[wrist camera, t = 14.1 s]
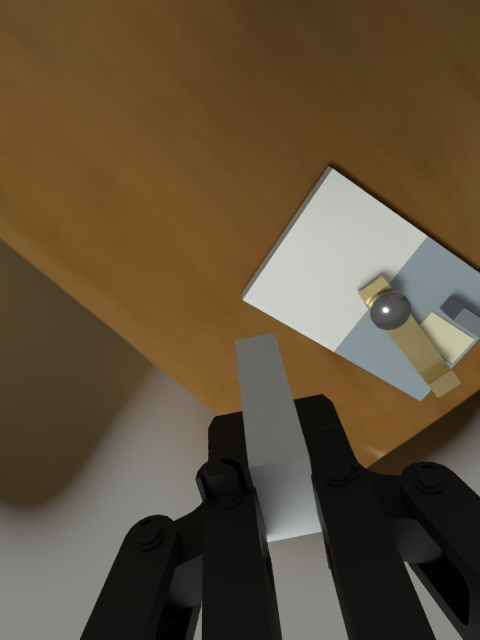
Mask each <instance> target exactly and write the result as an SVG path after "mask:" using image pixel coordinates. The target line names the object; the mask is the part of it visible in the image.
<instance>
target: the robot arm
mask: <svg viewBox="0 0 480 640" xmlns="http://www.w3.org/2000/svg"><path fill="white" fill-rule="evenodd" d="M235 346H236V355H237V365H238V374H239V383H240V392H241V401H242V410H243V411H241V412H236V413H231V414H226V415H221V416H216V417H214V419H213V421H212V422H211V424H210V426H209V428H208V441H209V443H208V451H209V452H208V461H207V462H206V463H205V464H203V465H202V467H201V468H200V469H199V470H198V472H197V476H196V482H197V486H198V489H199V492H200V495H201V498H202V501H203V502H202V503H201V505H200V506H198V507H197V508H196V509H195V510H194V511H192V512H191V513H189V514H188V515H185V516H183V517H181V518H179V519H177V520H175V521H173V520H172V519H170V518H169V517H168V516H164V515H153V516H148V517H146V518H144V519H142V520H140V521H139V522H137V523H136V524H135V525H134V526H133V527H132V528H131V529H130V530H129V532H128V533H127V535H126V536H125V538H124V541H123V543H122V545H121V547H120V550H119V552H118V554H117V556H116V559H115V561H114V563H113V565H112V568H111V570H110V572H109V575H108V577H107V579H106V581H105V584H104V586H103V588H102V590H101V593H100V595H99V597H98V599H97V602H96V604H95V607H94V609H93V611H92V613H91V616H90V617H89V620H88V622H87V624H86V627H85V629H84V631H83V633H82V636H81V638H80V640H193V638H194V634H195V630H196V625H197V621H198V617H199V613H200V609H201V602H202V640H282V634H281V627H280V619H279V612H278V605H277V598H276V591H275V583H274V576H273V570H272V562H271V558H270V554H269V550H268V544H267V542H271V541H276V540H281V539H286V538H291V537H297V536H302V535H307V534H312V533H317V532H322V533H323V538H324V543H325V549H326V555H327V561H328V567H329V569H331V573H332V577H333V581H334V585H335V588H336V592H337V596H338V600H339V604H340V607H341V612H342V616H343V620H344V624H345V627H346V631H347V635H348V639H349V640H436V638H435V636H434V634H433V631H432V629H431V627H430V624H429V622H428V619H427V617H426V614H425V612H424V610H423V607H422V605H421V602H420V600H419V598H418V595H417V593H416V591H415V589H414V586H413V583H412V581H411V579H410V576H409V574H408V571H407V569H406V567H405V564H404V562H403V561H405V562H408V564H409V566H410V567H411V569H412V570H413V571H414V573H415V574H416V575H417V577H418V578H419V580H420V581H421V582H422V584H423V585H424V586H425V588H426V589H427V591H428V592H429V593H430V595H431V596H432V597H433V599H434V600H435V602H436V603H437V604H438V606H439V607H440V608H441V610H442V611H443V612H444V614H445V615H446V617H447V618H448V619H449V620H450V622H451V623H452V625H453V626H454V628H455V629H456V630H457V632H458V633H459V634H460V636H461V637H462V639H463V640H480V497H479V496H478V495H477V494H476V493H475V492H474V491H473V490H472V489H471V488H470V487H469V486H468V485H467V484H466V483H464V482H463V481H462V480H461V479H460V478H459V477H458V476H457V475H456V474H455V473H454V472H453V471H451V470H450V469H448V468H447V467H445V466H444V465H441V464H438V463H434V462H418V463H413V464H411V465H409V466H408V467H406V468H405V469H404V470H403V472H402V474H401V476H395V475H383V474H378V473H375V472H371V471H369V470H368V469H366V468H364V467H363V466H362V465H361V464H360V463H358V461H357V459H356V458H355V456H354V453H353V451H352V448H351V446H350V444H349V441H348V439H347V436H346V434H345V431H344V429H343V427H342V425H341V422H340V419H339V417H338V415H337V412H336V410H335V407H334V405H333V402H331V401H330V400H329V399H328V398H327V397H325V396H324V395H323V394H320V395H315V396H310V397H305V398H300V399H295V400H293V397H292V394H291V390H290V387H289V383H288V379H287V376H286V372H285V369H284V365H283V362H282V358H281V355H280V351H279V348H278V344H277V341H276V337H275V333H270V334H265V335H260V336H255V337H250V338H245V339H241V340H236V341H235Z"/></svg>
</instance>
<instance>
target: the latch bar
mask: <svg viewBox="0 0 480 640" xmlns="http://www.w3.org/2000/svg"><path fill="white" fill-rule="evenodd" d="M358 294H359V295H360V297H361V298H362V299H363V301H364V302H365V303H366V305H367V306H368V307H369V317H370V319H371V320H372V322H373V323H374V324H375V325H376V326H377V327H378V328H380V329H383V330H386V331H387V332H388V333H389V335H390V336H391V337H392V339H393V340H394V341H395V343H396V344H397V345H398V346H399V348H400V349H401V350H402V352H403V353H404V354H405V356H406V357H407V358H408V360H409V361H410V362H411V363H412V365H413V366H414V367H415V369H416V370H417V371H418V373H419V374H420V375H421V377H422V378H423V379H424V381H425V382H426V383H427V384H428V386H429V387H430V388H431V390H432V391H433V392H434V394H435V395H436V396H437V397H438V398H439V397H440V396H442V395H443V394H445V393H447V392H448V391H450V390H451V389H453V388H455V387H456V386H458V385H459V384H461V382H460V381H459V379H458V378H457V376H456V375H455V374H454V372H453V371H452V370H451V368H450V367H449V366H448V365H447V364H446V362H445V361H444V360H443V358H442V357H441V356H440V354H439V353H438V351H437V350H436V349H435V347H434V346H433V344H432V343H431V342H430V340H429V339H428V337H427V336H426V335H425V333H424V332H423V331H422V329H421V328H420V326H419V325H418V324H417V322H416V321H415V319H414V318H413V317H412V315H411V304H410V301H409V300H408V299H407V298H406V297H405V296H404V295H403V294H402V293H401V292H399V291H396V290H393V289H392V287H391V286H390V285H389V283H388V282H387V281H386V280H385V279H384V278H383V277H382V276H381V277H380V278H378V279H377V280H375V281H374V282H373V283H371V284H370V285H369V286H367V287H366V288H364V289H363V290H362V291H360V292H359V293H358Z"/></svg>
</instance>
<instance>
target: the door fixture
mask: <svg viewBox="0 0 480 640" xmlns="http://www.w3.org/2000/svg"><path fill="white" fill-rule="evenodd" d="M381 276H382V277H383V278H384V279H385V280H386V281H387V282H388V283H389V285H390V286H391V287H392V289H393V290H396V291H399V292H401V293H402V294H403V295H404V296H405V297H406V298H407V299H408V300H409V301H410V304H411V315H412V317H413V318H414V319H415V321H416V322H417V324H418V325H419V326H420V328H421V329H422V331H423V332H424V333H425V335H426V336H427V337H428V339H429V340H430V342H431V343H432V344H433V346H434V347H435V349H436V350H437V351H438V353H439V354H440V356H441V357H442V358H443V360H444V361H445V362H446V364H447V365H448V366H449V367H450V368H452V367H453V366H454V365H455V364H456V363H457V362H458V361H459V360H460V359H461V358H462V356H463V355H464V354H465V353H466V352H467V351H468V350H469V349H470V348H471V347H472V346H473V345H474V344H475V343H476V342H477V341H478V339H479V338H480V273H479V272H477V271H476V270H475V269H473V268H472V267H470V266H469V265H468V264H466V263H465V262H463V261H462V260H460V259H459V258H458V257H456V256H455V255H453V254H452V253H451V252H449V251H448V250H446V249H445V248H444V247H442V246H441V245H439V244H438V243H437V242H435V241H434V240H432V239H431V238H430V237H428V236H427V235H425V234H424V233H423V232H421V231H420V230H418V229H417V228H416V227H414V226H413V225H411V224H410V223H409V222H407V221H406V220H404V219H403V218H401V217H400V216H399V215H397V214H396V213H394V212H393V211H392V210H390V209H389V208H387V207H386V206H385V205H383V204H382V203H380V202H379V201H378V200H376V199H375V198H373V197H372V196H371V195H369V194H368V193H366V192H365V191H364V190H362V189H361V188H359V187H358V186H357V185H355V184H354V183H352V182H351V181H350V180H348V179H347V178H345V177H344V176H342V175H341V174H340V173H338V172H337V171H335V170H334V169H333V168H331V167H329V166H328V167H327V169H326V170H325V172H324V173H323V174H322V176H321V177H320V179H319V180H318V182H317V183H316V185H315V186H314V188H313V189H312V191H311V192H310V194H309V195H308V196H307V198H306V199H305V201H304V202H303V204H302V205H301V207H300V208H299V210H298V211H297V213H296V214H295V216H294V217H293V218H292V220H291V221H290V223H289V224H288V226H287V227H286V229H285V230H284V232H283V233H282V235H281V236H280V238H279V239H278V240H277V242H276V243H275V245H274V246H273V248H272V249H271V251H270V252H269V254H268V255H267V257H266V258H265V260H264V261H263V262H262V264H261V265H260V267H259V268H258V270H257V271H256V273H255V274H254V276H253V277H252V279H251V280H250V282H249V283H248V284H247V286H246V287H245V289H244V290H243V292H242V299H243V300H244V301H246V302H247V303H249V304H251V305H253V306H254V307H256V308H258V309H260V310H261V311H263V312H265V313H267V314H269V315H270V316H272V317H274V318H276V319H277V320H279V321H281V322H283V323H284V324H286V325H288V326H290V327H291V328H293V329H295V330H297V331H298V332H300V333H302V334H304V335H305V336H307V337H309V338H311V339H312V340H314V341H316V342H318V343H319V344H321V345H323V346H325V347H326V348H328V349H330V350H332V351H333V352H335V353H337V354H339V355H340V356H342V357H344V358H346V359H348V360H349V361H351V362H353V363H355V364H356V365H358V366H360V367H362V368H363V369H365V370H367V371H369V372H370V373H372V374H374V375H376V376H377V377H379V378H381V379H383V380H384V381H386V382H388V383H390V384H391V385H393V386H395V387H397V388H398V389H400V390H402V391H404V392H405V393H407V394H409V395H411V396H412V397H414V398H416V399H418V400H419V401H421V400H422V399H423V398H424V397H425V396H426V395H427V394H428V393H429V392H430V391H431V388H430V387H429V386H428V384H427V383H426V382H425V381H424V379H423V378H422V377H421V375H420V374H419V373H418V371H417V370H416V369H415V367H414V366H413V365H412V363H411V362H410V361H409V360H408V358H407V357H406V356H405V354H404V353H403V352H402V350H401V349H400V348H399V346H398V345H397V344H396V343H395V341H394V340H393V339H392V337H391V336H390V335H389V333H388V332H387V331H386V330H383V329H380V328H378V327H377V326H376V325H375V324H374V323H373V322H372V320H371V319H370V317H369V307H368V306H367V305H366V303H365V302H364V301H363V299H362V298H361V297H360V295H359V294H358V293H359V292H360V291H362V290H363V289H364V288H366V287H367V286H369V285H370V284H371V283H373V282H374V281H375V280H377V279H378V278H380V277H381Z"/></svg>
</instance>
